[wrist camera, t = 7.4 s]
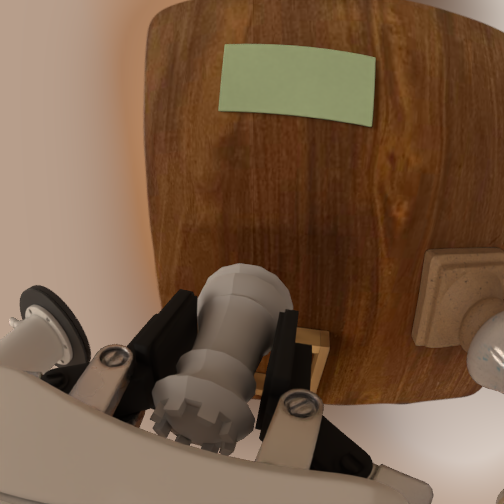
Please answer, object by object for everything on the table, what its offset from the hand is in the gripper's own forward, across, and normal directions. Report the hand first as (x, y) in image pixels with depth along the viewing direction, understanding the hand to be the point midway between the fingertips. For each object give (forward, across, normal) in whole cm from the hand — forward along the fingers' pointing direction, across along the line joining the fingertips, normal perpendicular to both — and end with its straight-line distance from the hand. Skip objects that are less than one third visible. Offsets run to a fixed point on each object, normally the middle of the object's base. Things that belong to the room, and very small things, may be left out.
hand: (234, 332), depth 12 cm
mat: (+17, 0, -14) cm, 22 cm away
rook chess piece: (+3, 0, 0) cm, 3 cm away
